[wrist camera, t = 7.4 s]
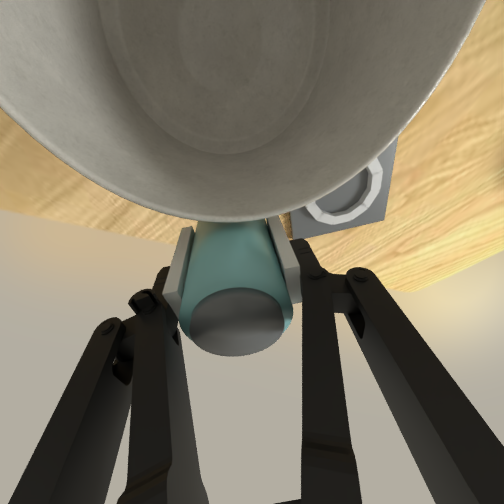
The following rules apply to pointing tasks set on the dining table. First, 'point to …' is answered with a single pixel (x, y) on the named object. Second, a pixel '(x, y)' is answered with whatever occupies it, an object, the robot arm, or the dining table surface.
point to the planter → (223, 92)
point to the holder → (349, 201)
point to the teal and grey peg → (234, 289)
